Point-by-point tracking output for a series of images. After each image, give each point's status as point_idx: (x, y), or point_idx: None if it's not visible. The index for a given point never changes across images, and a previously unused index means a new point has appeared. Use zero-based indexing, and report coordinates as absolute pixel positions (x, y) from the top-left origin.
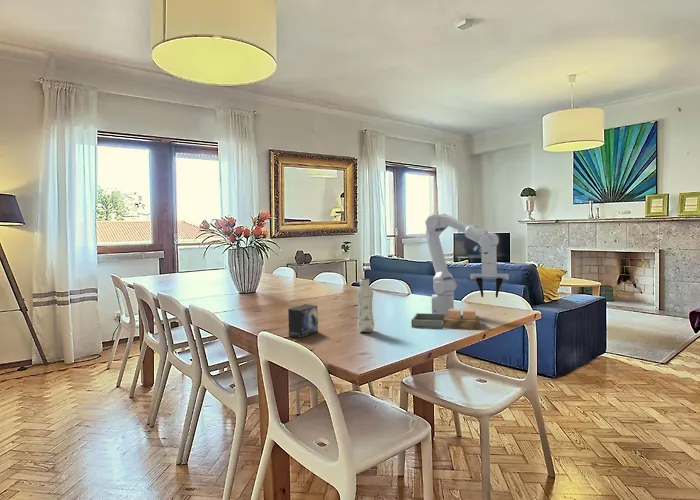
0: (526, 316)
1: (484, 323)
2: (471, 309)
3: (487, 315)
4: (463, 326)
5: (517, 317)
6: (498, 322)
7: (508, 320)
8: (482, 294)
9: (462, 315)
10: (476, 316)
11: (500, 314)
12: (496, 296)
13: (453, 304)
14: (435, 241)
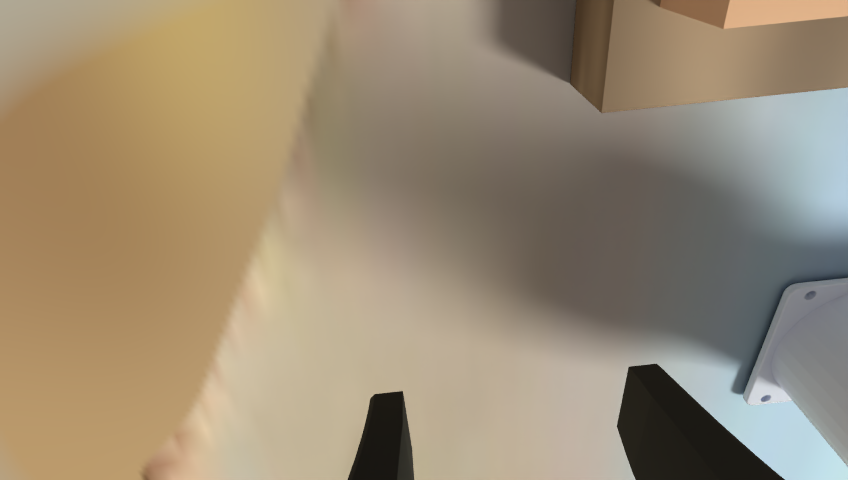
0: (187, 429)
1: (511, 86)
2: (796, 3)
3: (488, 388)
4: None
5: (244, 388)
6: (369, 173)
7: (291, 276)
8: (667, 400)
9: (823, 63)
10: (642, 46)
11: None
12: (390, 403)
13: (843, 413)
14: None
